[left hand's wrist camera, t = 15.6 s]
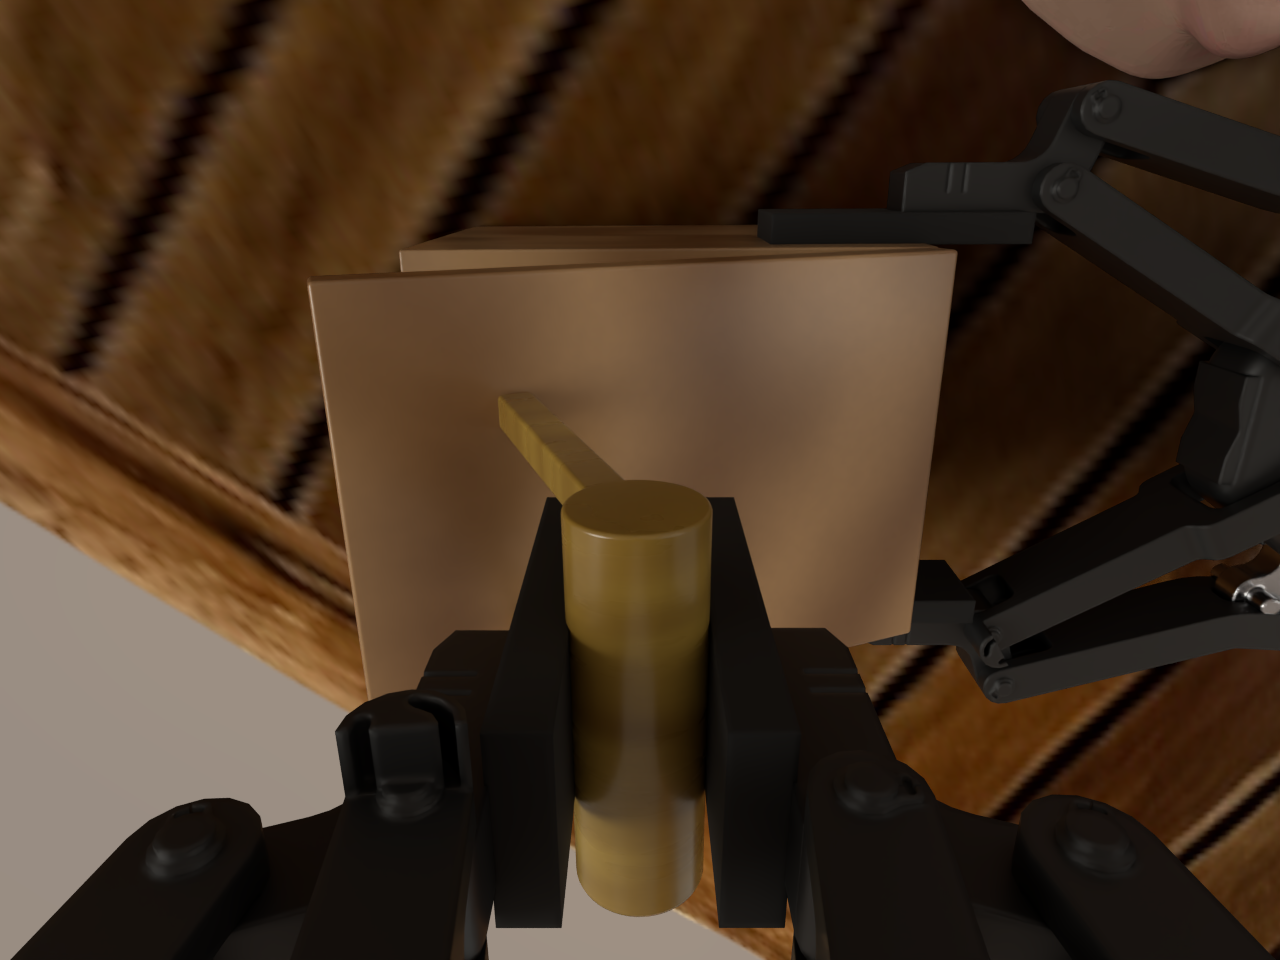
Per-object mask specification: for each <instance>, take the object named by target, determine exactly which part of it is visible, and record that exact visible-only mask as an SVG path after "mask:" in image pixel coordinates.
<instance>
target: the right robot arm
mask: <svg viewBox="0 0 1280 960" xmlns="http://www.w3.org/2000/svg"><path fill="white" fill-rule="evenodd" d="M1036 121H1037V128H1036V130H1035V132H1034V134H1033V136H1032V138H1031V140H1030V142H1029V144H1028V145H1027V147H1026V148H1025V149H1024V151H1023V152H1022V153H1021V154H1020V155H1018V156H1017V157H1015V158H1014V159H1012V160H1009V161H1007V162H982V163H910V164H908V165H905V166H903V167H900V168H898V169H895V170H893V171H891V172H890V180H889V191H888V201H887V209H758V227H757V237H759V238H760V239H762V240H764V241H766V242H767V243H769V244H920V243H925V244H1032V239H1033V233H1034V226H1035V225H1037V226H1038V227H1040V228H1041V229H1043V230H1044V231H1046V232H1047V233H1049V234H1050V235H1052V236H1053V237H1055V238H1056V239H1058V240H1059V241H1061V242H1062V243H1064V244H1065V245H1067V246H1068V247H1070V248H1071V249H1073V250H1074V251H1076V252H1077V253H1079V254H1080V255H1082V256H1083V257H1085V258H1086V259H1088V260H1089V261H1091V262H1092V263H1094V264H1095V265H1096V266H1098V267H1099V268H1101V269H1102V270H1104V271H1105V272H1107V273H1108V274H1110V275H1111V276H1113V277H1114V278H1116V279H1117V280H1119V281H1120V282H1122V283H1123V284H1125V285H1126V286H1128V287H1129V288H1131V289H1132V290H1134V291H1135V292H1137V293H1138V294H1140V295H1141V296H1143V297H1144V298H1146V299H1147V300H1149V301H1150V302H1152V303H1153V304H1155V305H1156V306H1158V307H1159V308H1161V309H1162V310H1164V311H1165V312H1167V313H1168V314H1170V315H1171V316H1173V317H1174V318H1176V319H1177V323H1178V324H1179V325H1180V326H1182V327H1183V328H1185V329H1186V330H1188V331H1189V332H1191V333H1192V334H1194V335H1195V336H1197V337H1198V338H1200V339H1201V340H1203V341H1204V342H1206V343H1207V344H1209V345H1210V346H1212V347H1213V348H1215V349H1216V351H1215V352H1214V354H1213V355H1212V357H1211V358H1210V360H1209V361H1199V365H1198V369H1197V374H1196V378H1195V382H1194V414H1193V416H1192V418H1191V420H1190V422H1189V424H1188V426H1187V428H1186V430H1185V432H1184V433H1183V435H1182V437H1181V441H1180V445H1179V450H1178V454H1177V458H1176V462H1178V463H1180V464H1179V465H1177V466H1175V467H1173V468H1171V469H1169V470H1167V471H1165V472H1163V473H1161V474H1159V475H1156V476H1154V477H1152V478H1150V479H1148V480H1147V481H1145V482H1143V483H1142V484H1141V485H1140V487H1139V493H1138V494H1137V495H1136V496H1134V497H1132V498H1130V499H1128V500H1126V501H1124V502H1122V503H1120V504H1118V505H1116V506H1114V507H1112V508H1109V509H1107V510H1105V511H1103V512H1101V513H1099V514H1097V515H1095V516H1093V517H1091V518H1089V519H1087V520H1085V521H1083V522H1081V523H1079V524H1077V525H1074V526H1072V527H1070V528H1068V529H1066V530H1064V531H1062V532H1060V533H1058V534H1056V535H1054V536H1052V537H1050V538H1048V539H1046V540H1044V541H1042V542H1039V543H1037V544H1035V545H1033V546H1031V547H1029V548H1027V549H1025V550H1023V551H1021V552H1019V553H1017V554H1015V555H1013V556H1011V557H1009V558H1007V559H1004V560H1002V561H1000V562H998V563H996V564H994V565H992V566H990V567H988V568H986V569H984V570H982V571H980V572H978V573H976V574H974V575H972V576H969V577H967V578H965V579H963V580H961V581H960V580H959V578H958V577H957V576H956V574H955V573H954V572H953V570H952V569H951V568H950V567H949V565H948V564H947V563H946V561H945V560H919V564H918V572H917V580H916V588H915V596H914V604H913V612H912V620H911V628H910V632H909V633H906V634H902V635H898V636H893V637H889V638H885V639H881V640H877V641H873V642H868V643H870V644H873V645H891V644H894V645H904V644H907V645H955V646H956V650H957V652H958V655H959V656H960V658H961V659H962V661H963V662H964V664H965V666H966V667H967V669H968V670H969V672H970V673H971V675H972V676H973V678H974V679H975V681H976V683H977V684H978V686H979V687H980V689H981V690H982V692H983V693H984V695H985V696H986V698H988V699H989V700H990V701H991V702H995V703H1007V702H1011V701H1016V700H1020V699H1024V698H1028V697H1032V696H1037V695H1041V694H1045V693H1049V692H1053V691H1058V690H1062V689H1066V688H1070V687H1074V686H1078V685H1083V684H1087V683H1091V682H1095V681H1099V680H1104V679H1108V678H1112V677H1116V676H1120V675H1124V674H1129V673H1133V672H1137V671H1141V670H1145V669H1150V668H1154V667H1158V666H1162V665H1166V664H1170V663H1175V662H1179V661H1183V660H1187V659H1191V658H1196V657H1200V656H1204V655H1208V654H1212V653H1216V652H1221V651H1225V650H1229V649H1233V648H1245V649H1265V650H1280V299H1277V298H1275V297H1272V296H1270V295H1268V294H1266V293H1265V292H1263V291H1262V290H1260V289H1259V288H1257V287H1256V286H1254V285H1253V284H1252V283H1250V282H1249V281H1247V280H1246V279H1244V278H1243V277H1241V276H1240V275H1239V274H1237V273H1236V272H1234V271H1233V270H1231V269H1230V268H1228V267H1227V266H1226V265H1224V264H1223V263H1221V262H1220V261H1218V260H1217V259H1215V258H1214V257H1213V256H1211V255H1210V254H1208V253H1207V252H1205V251H1204V250H1202V249H1201V248H1200V247H1198V246H1197V245H1195V244H1194V243H1192V242H1191V241H1189V240H1188V239H1187V238H1185V237H1184V236H1182V235H1181V234H1179V233H1178V232H1176V231H1175V230H1174V229H1172V228H1171V227H1169V226H1168V225H1166V224H1165V223H1163V222H1162V221H1161V220H1159V219H1158V218H1156V217H1155V216H1153V215H1152V214H1150V213H1149V212H1148V211H1146V210H1145V209H1143V208H1142V207H1140V206H1139V205H1137V204H1136V203H1135V202H1133V201H1132V200H1130V199H1129V198H1127V197H1126V196H1125V195H1123V194H1122V193H1120V192H1119V191H1117V190H1116V189H1114V188H1113V187H1112V186H1110V185H1109V184H1107V183H1106V182H1104V181H1103V180H1101V179H1100V178H1099V177H1097V176H1096V175H1094V174H1093V173H1091V172H1090V171H1091V169H1092V167H1093V165H1094V163H1095V161H1096V159H1097V157H1098V155H1101V156H1104V157H1107V158H1110V159H1113V160H1116V161H1119V162H1122V163H1125V164H1128V165H1131V166H1134V167H1137V168H1140V169H1143V170H1146V171H1149V172H1152V173H1155V174H1158V175H1161V176H1164V177H1167V178H1170V179H1173V180H1176V181H1179V182H1182V183H1185V184H1188V185H1191V186H1194V187H1197V188H1200V189H1203V190H1206V191H1209V192H1212V193H1215V194H1218V195H1221V196H1224V197H1227V198H1230V199H1233V200H1236V201H1239V202H1242V203H1245V204H1248V205H1251V206H1254V207H1257V208H1260V209H1263V210H1267V211H1271V212H1275V213H1280V136H1278V135H1275V134H1272V133H1269V132H1266V131H1263V130H1260V129H1257V128H1254V127H1252V126H1249V125H1246V124H1243V123H1240V122H1237V121H1234V120H1231V119H1228V118H1225V117H1222V116H1219V115H1217V114H1214V113H1211V112H1208V111H1205V110H1202V109H1199V108H1196V107H1193V106H1190V105H1187V104H1185V103H1182V102H1179V101H1176V100H1173V99H1170V98H1167V97H1164V96H1161V95H1158V94H1155V93H1152V92H1150V91H1147V90H1144V89H1141V88H1138V87H1135V86H1132V85H1129V84H1126V83H1123V82H1120V81H1114V80H1107V81H1102V82H1097V83H1092V84H1087V85H1082V86H1077V87H1072V88H1067V89H1062V90H1059V91H1056V92H1053V93H1051V94H1050V95H1048V96H1047V97H1046V98H1045V99H1044V100H1043V101H1042V103H1041V104H1040V106H1039V108H1038V111H1037V116H1036ZM1204 499H1205V500H1206V501H1208V502H1209V503H1210V504H1212V505H1213V506H1214V507H1215V508H1216V509H1213V508H1210V507H1208V506H1206V505H1204V504H1203V503H1201V502H1200V501H1202V500H1204ZM1258 544H1262V545H1263V547H1262V549H1261V551H1260V553H1259V554H1258V555H1257V556H1256V557H1255V558H1254V559H1252V560H1251V561H1249V562H1247V563H1245V564H1240V565H1235V566H1231V567H1229V566H1228V565H1226V564H1218V565H1216V566H1215V567H1213V568H1212V570H1211V576H1196V577H1186V578H1180V579H1175V580H1170V581H1165V582H1161V583H1157V584H1153V585H1149V586H1145V587H1141V588H1137V589H1134V588H1136V587H1139V586H1141V585H1143V584H1145V583H1147V582H1149V581H1152V580H1154V579H1156V578H1158V577H1160V576H1162V575H1164V574H1167V573H1169V572H1171V571H1173V570H1175V569H1177V568H1180V567H1182V566H1184V565H1186V564H1188V563H1190V562H1193V561H1195V560H1198V559H1209V560H1221V559H1226V558H1229V557H1231V556H1234V555H1236V554H1238V553H1240V552H1242V551H1244V550H1247V549H1249V548H1251V547H1253V546H1255V545H1258ZM1132 589H1133V590H1132Z"/></svg>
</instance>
